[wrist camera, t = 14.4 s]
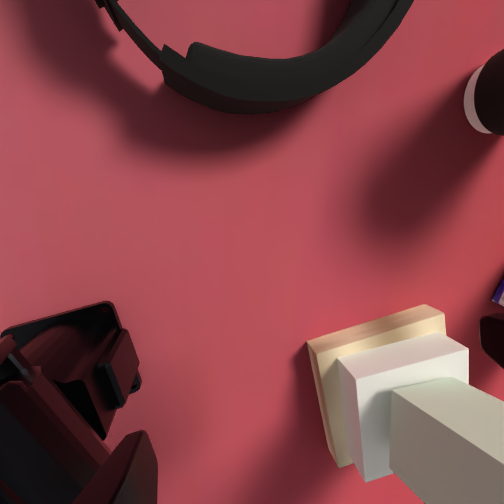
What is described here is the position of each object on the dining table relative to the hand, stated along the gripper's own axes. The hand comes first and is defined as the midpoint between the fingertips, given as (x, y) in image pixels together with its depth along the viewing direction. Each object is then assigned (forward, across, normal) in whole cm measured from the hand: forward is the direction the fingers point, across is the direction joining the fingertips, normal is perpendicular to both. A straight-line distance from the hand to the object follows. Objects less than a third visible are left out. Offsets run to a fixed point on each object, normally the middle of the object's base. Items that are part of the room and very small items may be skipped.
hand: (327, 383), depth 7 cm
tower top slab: (+11, -8, +12) cm, 18 cm away
